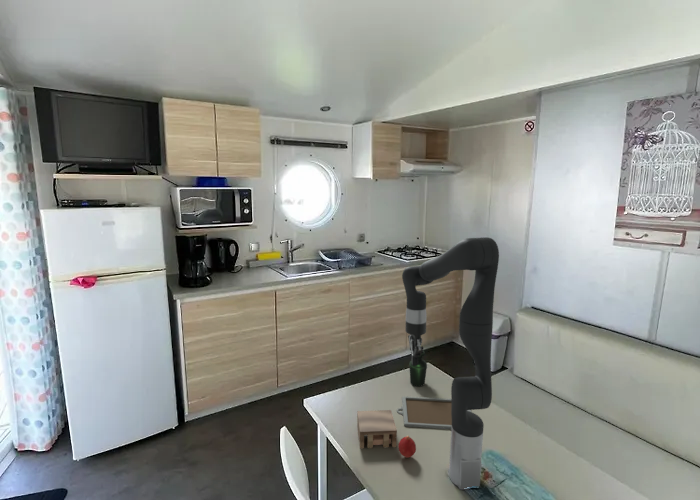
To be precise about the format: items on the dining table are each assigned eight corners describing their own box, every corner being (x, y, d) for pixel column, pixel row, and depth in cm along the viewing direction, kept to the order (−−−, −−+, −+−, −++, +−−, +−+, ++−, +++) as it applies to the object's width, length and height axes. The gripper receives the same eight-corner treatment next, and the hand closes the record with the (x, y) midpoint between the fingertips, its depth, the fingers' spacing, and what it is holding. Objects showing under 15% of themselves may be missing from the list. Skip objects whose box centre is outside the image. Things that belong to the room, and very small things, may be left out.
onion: (394, 456, 124) (395, 434, 123) (406, 448, 128) (406, 427, 127) (407, 466, 120) (408, 443, 119) (419, 457, 124) (419, 436, 122)
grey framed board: (478, 428, 137) (397, 423, 140) (478, 432, 138) (397, 427, 140) (467, 399, 156) (395, 395, 159) (466, 403, 156) (395, 399, 159)
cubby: (396, 447, 129) (396, 430, 128) (359, 448, 128) (360, 431, 127) (390, 425, 140) (391, 410, 139) (357, 426, 140) (357, 411, 139)
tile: (391, 445, 130) (391, 438, 130) (372, 446, 130) (372, 440, 129) (384, 422, 143) (384, 416, 143) (367, 423, 143) (367, 417, 142)
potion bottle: (415, 377, 177) (416, 341, 174) (429, 383, 171) (431, 346, 168) (405, 383, 171) (406, 346, 168) (420, 389, 165) (421, 352, 163)
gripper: (431, 325, 129) (430, 372, 131) (421, 314, 142) (419, 356, 144) (410, 326, 128) (409, 373, 131) (401, 314, 141) (401, 357, 144)
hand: (414, 364), depth 137 cm, fingers closed
